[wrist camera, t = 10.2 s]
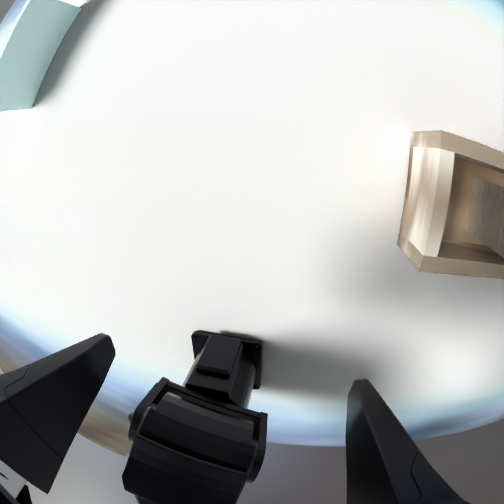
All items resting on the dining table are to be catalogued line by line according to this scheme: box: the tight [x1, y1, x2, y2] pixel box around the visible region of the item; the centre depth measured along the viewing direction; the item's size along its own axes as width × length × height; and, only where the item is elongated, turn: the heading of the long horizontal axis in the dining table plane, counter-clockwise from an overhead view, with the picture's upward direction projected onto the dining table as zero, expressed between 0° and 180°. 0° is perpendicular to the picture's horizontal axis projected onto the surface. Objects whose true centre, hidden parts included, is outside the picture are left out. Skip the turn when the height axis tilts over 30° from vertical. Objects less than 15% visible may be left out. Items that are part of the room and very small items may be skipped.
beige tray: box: [397, 130, 504, 279], centre depth 13 cm, size 8×15×4 cm, turn 89°
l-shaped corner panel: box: [0, 0, 82, 111], centre depth 12 cm, size 12×12×8 cm
